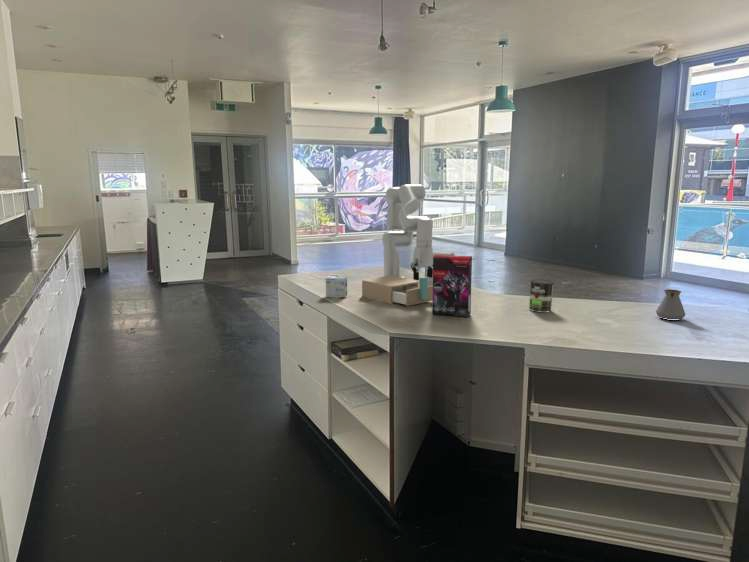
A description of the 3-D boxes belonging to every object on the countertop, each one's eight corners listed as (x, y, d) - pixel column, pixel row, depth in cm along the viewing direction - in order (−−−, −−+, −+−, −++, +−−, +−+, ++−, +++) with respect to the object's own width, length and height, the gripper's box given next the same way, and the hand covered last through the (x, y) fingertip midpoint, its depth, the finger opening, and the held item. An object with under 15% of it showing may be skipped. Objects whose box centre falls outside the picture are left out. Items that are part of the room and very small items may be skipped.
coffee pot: (656, 314, 238) (659, 282, 235) (684, 317, 232) (688, 285, 229) (652, 325, 220) (656, 290, 217) (684, 329, 214) (688, 294, 211)
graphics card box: (431, 314, 237) (432, 255, 231) (434, 311, 243) (436, 254, 238) (468, 318, 231) (470, 257, 226) (470, 314, 237) (473, 255, 232)
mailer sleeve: (389, 291, 286) (389, 275, 284) (418, 298, 270) (418, 281, 268) (362, 296, 273) (362, 280, 271) (390, 304, 256) (390, 286, 255)
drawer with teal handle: (403, 293, 277) (404, 269, 274) (437, 300, 259) (438, 275, 257) (377, 298, 264) (377, 273, 262) (410, 306, 247) (411, 280, 244)
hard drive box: (454, 287, 298) (455, 253, 295) (448, 289, 292) (449, 254, 288) (429, 284, 307) (430, 251, 303) (424, 286, 300) (424, 252, 296)
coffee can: (545, 314, 238) (547, 284, 235) (525, 310, 244) (526, 281, 242) (555, 310, 245) (557, 281, 242) (535, 306, 252) (536, 278, 249)
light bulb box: (347, 295, 275) (347, 275, 273) (345, 298, 269) (345, 278, 267) (328, 295, 276) (327, 275, 274) (325, 298, 270) (325, 277, 268)
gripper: (430, 241, 257) (429, 275, 260) (405, 244, 245) (405, 279, 249) (441, 243, 251) (440, 277, 255) (417, 246, 240) (416, 282, 243)
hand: (422, 278), depth 252 cm, fingers open, 9 cm apart
